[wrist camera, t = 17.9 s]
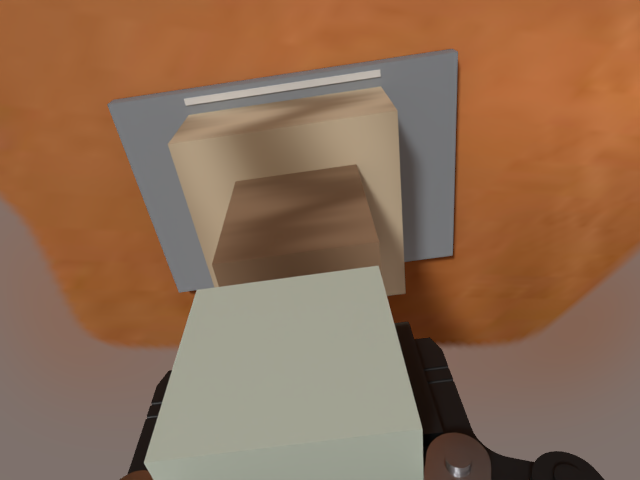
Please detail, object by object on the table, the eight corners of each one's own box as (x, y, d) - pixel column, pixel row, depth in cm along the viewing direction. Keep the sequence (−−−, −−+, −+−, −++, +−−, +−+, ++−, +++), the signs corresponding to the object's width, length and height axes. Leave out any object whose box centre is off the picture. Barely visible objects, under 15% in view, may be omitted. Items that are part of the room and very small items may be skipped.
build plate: (452, 48, 21) (458, 52, 20) (448, 247, 26) (453, 255, 26) (113, 100, 21) (106, 104, 20) (182, 284, 27) (178, 293, 26)
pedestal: (381, 86, 21) (397, 110, 17) (391, 249, 25) (405, 293, 22) (188, 115, 21) (167, 144, 18) (233, 270, 26) (224, 317, 22)
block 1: (356, 164, 18) (379, 241, 13) (365, 264, 21) (387, 361, 16) (235, 181, 18) (212, 264, 13) (259, 278, 21) (248, 378, 16)
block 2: (378, 265, 12) (422, 428, 8) (388, 389, 15) (425, 562, 10) (196, 290, 12) (143, 462, 8) (238, 407, 15) (215, 585, 11)
